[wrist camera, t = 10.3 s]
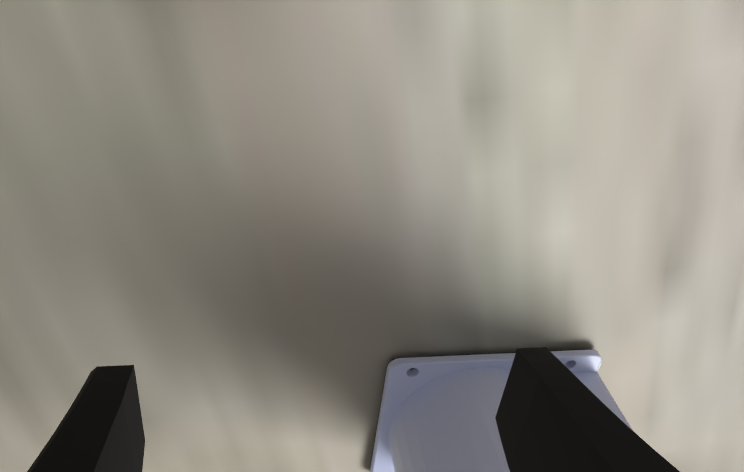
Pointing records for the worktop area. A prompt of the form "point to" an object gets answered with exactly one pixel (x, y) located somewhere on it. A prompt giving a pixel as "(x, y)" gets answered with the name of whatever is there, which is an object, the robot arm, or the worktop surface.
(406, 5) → the worktop surface
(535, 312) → the worktop surface
